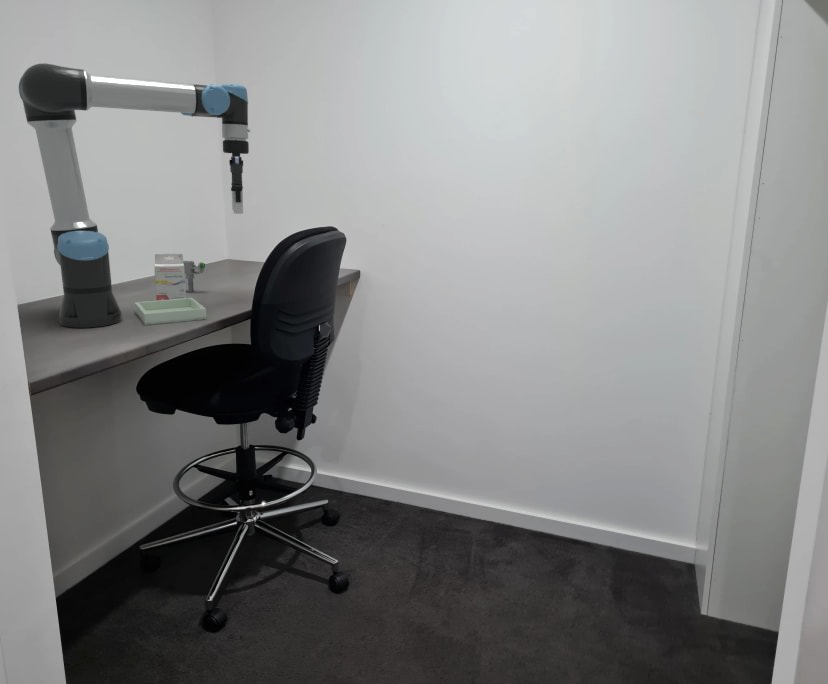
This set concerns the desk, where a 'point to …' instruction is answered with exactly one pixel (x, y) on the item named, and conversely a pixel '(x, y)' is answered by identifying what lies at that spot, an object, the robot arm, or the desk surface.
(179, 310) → the tray
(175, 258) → the ink cartridge box
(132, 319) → the desk surface
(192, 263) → the mechanical component
